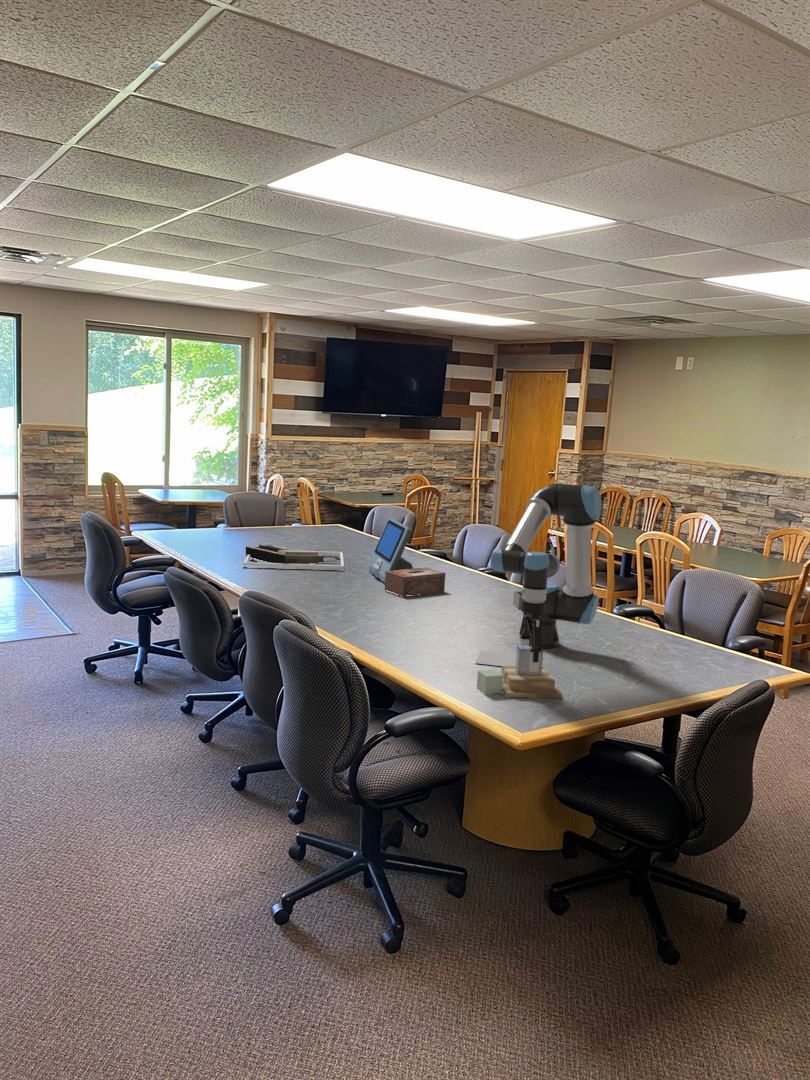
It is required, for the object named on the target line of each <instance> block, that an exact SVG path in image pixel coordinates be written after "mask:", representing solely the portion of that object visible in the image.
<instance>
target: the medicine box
mask: <svg viewBox="0 0 810 1080" xmlns="http://www.w3.org/2000/svg"><path fill="white" fill-rule="evenodd" d="M536 648H537V647H536ZM531 649H532V646H520V645H517V646H516V653H515V654H516V665H515V671H516V673H517V675H541V674H542V667H543V662H544V660H543V659H544V650H543V649H544V648H542V652H540V657H539V670H538V672H530V671H529V669H530V656H531V652H530V650H531Z"/></svg>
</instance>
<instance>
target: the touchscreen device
mask: <svg viewBox="0 0 810 1080" xmlns="http://www.w3.org/2000/svg"><path fill="white" fill-rule="evenodd" d="M412 533H413V529H412V528H410V527H409V526H407V525H405V524H403V523H401V522H399V521H397V520H396V519H392V518H391V517H389V518H388V519H387V521H386V524H384V528H383V530H382V532H381V535H380V536H379V539H378V542H377V544H376V545H375V548H374V550H373V553H372V556H371V558H370V562H369V565H368V571H369V570H370V571H371V572H372V573H373V574H374V575H376V576H377V577H378V578H379V579H380V580H382V581H383V582H384V583H385V571H394V570H405V569H414V567H413V563H412V562H409V561H408V560H406V559H405V558H403V557H402V554H403V553H404V550H405V548H406V546H407V544H408V541H409V539H410V538H411V536H412V535H411V534H412ZM370 571H369V572H370ZM371 572H370V573H371ZM372 573H371V574H372ZM373 574H372V575H373ZM374 575H373V576H374ZM377 577H376V578H377ZM378 578H377V579H378ZM379 579H378V580H379ZM380 580H379V581H380ZM382 581H381V582H382ZM383 582H382V583H383ZM384 583H383V584H384Z"/></svg>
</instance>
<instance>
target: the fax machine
mask: <svg viewBox="0 0 810 1080" xmlns="http://www.w3.org/2000/svg"><path fill="white" fill-rule="evenodd" d="M313 551H314V550H298V549H293V548H289V547H283V546H279V545H274V544H259V545H258V546H245V557H246V556H247V555H248V554H249V555H250V557H252V558H256V559H259V560H263V561H267V562H271V563H283V564H309V563H318V562H323V563H324V562H331V560H324V557H323V556H321V555H318V553H317V552H318V550H317V552H313ZM321 553H322V552H321ZM328 555H329V554H328ZM331 556H332V555H331ZM332 558H334V559H335V560H333V562H336V561H340V560H341V559H340V558H339V557H338V558H337V557H335V556H333V557H332Z"/></svg>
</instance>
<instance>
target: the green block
mask: <svg viewBox="0 0 810 1080" xmlns="http://www.w3.org/2000/svg"><path fill="white" fill-rule="evenodd" d="M476 676H477V678H476V689H477V690H478V691H479V690H480V691H479V692H481V693H482V692H483V693H484V694H483V693H482V694H483V695H485V694H487V695H494V694H493V693H499V694H503V693H502V685H503V675H502V673H500V672H499V671H498V670H496V669H483V670H477V675H476Z"/></svg>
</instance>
